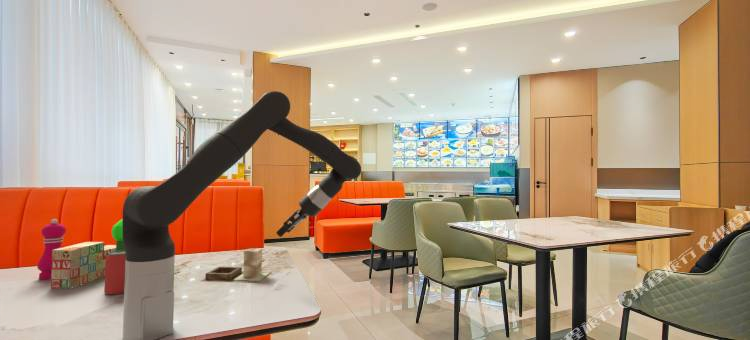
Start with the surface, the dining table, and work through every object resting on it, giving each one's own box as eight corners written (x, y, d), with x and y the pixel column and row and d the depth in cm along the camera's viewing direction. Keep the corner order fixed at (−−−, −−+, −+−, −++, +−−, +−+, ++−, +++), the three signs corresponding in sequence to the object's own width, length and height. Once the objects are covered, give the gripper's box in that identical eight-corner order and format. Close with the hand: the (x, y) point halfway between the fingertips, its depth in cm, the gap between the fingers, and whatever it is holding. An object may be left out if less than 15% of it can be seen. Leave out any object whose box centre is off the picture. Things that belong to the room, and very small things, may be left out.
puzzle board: (272, 274, 117) (272, 266, 117) (259, 285, 105) (259, 276, 105) (219, 273, 118) (219, 265, 118) (200, 284, 106) (200, 274, 106)
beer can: (99, 293, 97) (101, 253, 97) (125, 286, 103) (126, 248, 103) (110, 297, 94) (112, 255, 94) (136, 290, 100) (137, 251, 100)
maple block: (261, 274, 114) (262, 248, 114) (256, 278, 109) (256, 251, 110) (249, 273, 114) (249, 248, 114) (243, 277, 110) (244, 251, 110)
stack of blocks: (107, 269, 122) (108, 236, 122) (124, 269, 122) (125, 237, 122) (50, 288, 100) (51, 249, 101) (69, 289, 100) (71, 249, 100)
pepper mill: (43, 275, 113) (45, 218, 114) (70, 272, 116) (72, 217, 117) (32, 281, 107) (34, 220, 107) (60, 278, 110) (63, 219, 110)
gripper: (313, 191, 119) (281, 222, 119) (302, 193, 105) (267, 228, 105) (327, 206, 119) (295, 236, 119) (318, 210, 104) (283, 244, 104)
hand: (282, 232), depth 112 cm, fingers open, 8 cm apart
